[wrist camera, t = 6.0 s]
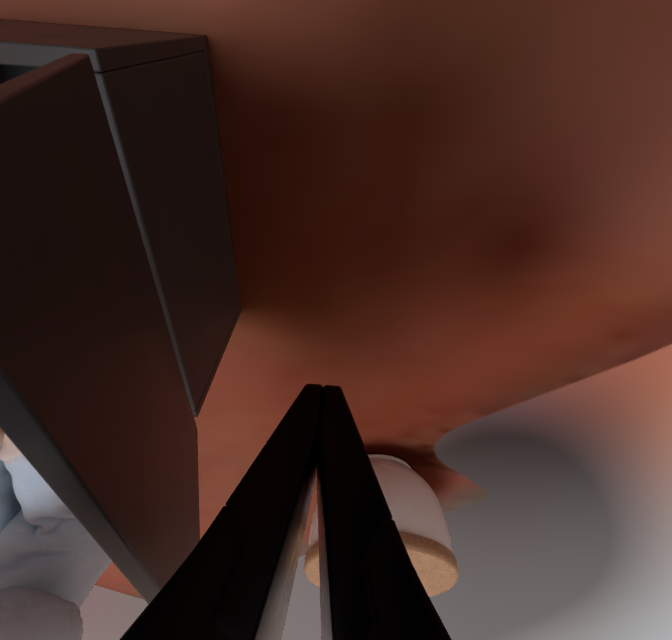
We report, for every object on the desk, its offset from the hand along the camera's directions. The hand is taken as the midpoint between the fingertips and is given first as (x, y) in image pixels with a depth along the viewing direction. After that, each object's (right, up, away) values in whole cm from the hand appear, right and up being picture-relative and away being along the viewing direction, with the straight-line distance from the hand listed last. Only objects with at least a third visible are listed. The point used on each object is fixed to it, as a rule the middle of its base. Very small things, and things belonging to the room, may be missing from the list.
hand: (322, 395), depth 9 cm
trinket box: (+4, -11, +23) cm, 26 cm away
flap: (-4, 0, 0) cm, 4 cm away
